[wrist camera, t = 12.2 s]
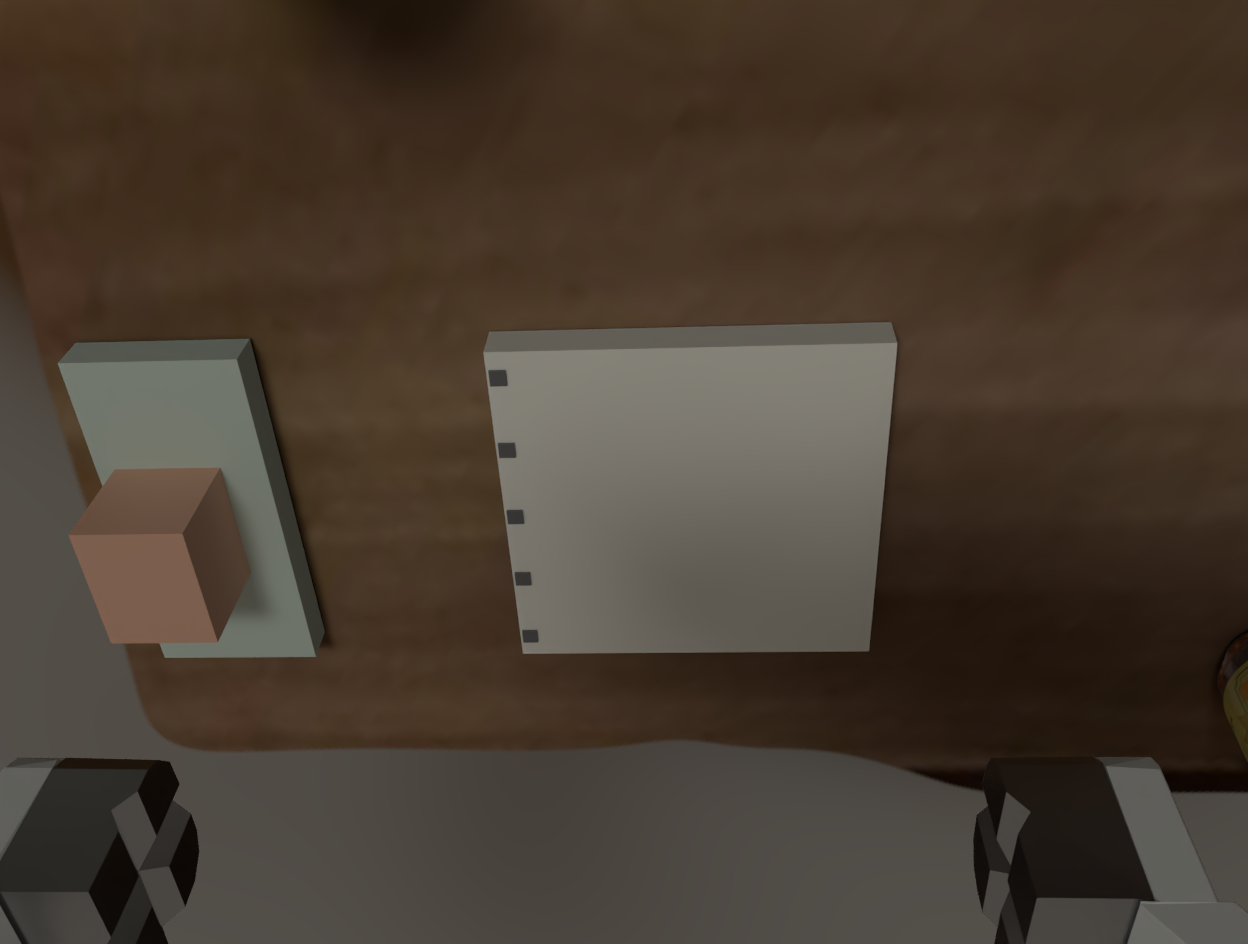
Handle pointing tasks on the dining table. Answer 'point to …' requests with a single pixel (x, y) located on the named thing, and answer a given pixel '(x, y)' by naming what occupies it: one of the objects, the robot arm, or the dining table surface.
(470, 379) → the dining table surface
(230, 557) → the green slab pink block
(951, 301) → the dining table surface
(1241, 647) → the sauce bottle
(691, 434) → the board
